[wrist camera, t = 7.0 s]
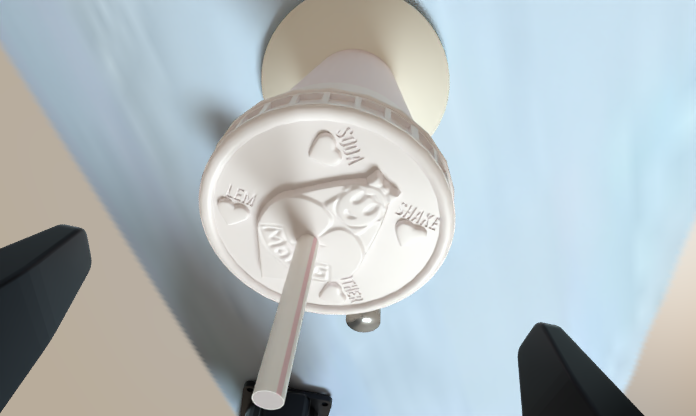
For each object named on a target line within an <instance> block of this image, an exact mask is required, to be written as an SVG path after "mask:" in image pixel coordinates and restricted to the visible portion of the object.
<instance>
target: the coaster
mask: <svg viewBox="0 0 696 416" xmlns="http://www.w3.org/2000/svg"><path fill="white" fill-rule="evenodd" d="M346 49H360V50H365V51H368V52H370V53H373V54H374V55H376V56H378V57H379V58H380V59H382V60H383V61H384V62H385V63H386V64H387V66H388V67H389V68H390V70H391V71H392V73H393V75H394V78H395V80H396V82H397V84H398V87H399V89H400V91H401V93H402V96H403V98H404V100H405V102H406V105H407V107H408V109H409V112H410V114H411V116H412V118H413V120H414V121H415V122H416V123H417V124H418V125H420V126H421V127H422V128H423V129H424V130H425V131H426V132H428V133H429V135H430V136H432V135H433V134H434V132H435V130H436V129H437V127H438V125H439V124H440V121H441V119H442V117H443V114H444V112H445V108H446V105H447V101H448V95H449V69H448V63H447V59H446V55H445V52H444V49H443V47H442V44H441V42H440V40H439V37H438V35H437V34H436V32H435V31H434V29H433V27H432V26H431V24H430V23H429V22H428V21H427V20H426V18H425V17H424V16H423V15H422V14H421V13H420V12H419V11H418V10H417V9H416V8H414V7H413V6H412V5H411V4H409V3H408V2H406V1H405V0H305V1H303V2H302V3H300V4H299V5H298V6H296V7H295V8H294V9H293V10H292V11H291V12H290V13H289V14H288V15H287V16H286V17H285V18H284V19H283V20H282V22H281V23H280V24H279V25H278V27H277V28H276V30H275V32H274V33H273V35H272V37H271V39H270V41H269V43H268V46H267V48H266V52H265V55H264V58H263V65H262V76H261V84H262V93H263V98H264V100H265V99H268V98H271V97H274V96H277V95H280V94H282V93H285V92H288V91H289V90H291V89H292V88H293V87H294V86H295V85H296V84H297V83H299V82H300V81H301V80H302V79H303V78H304V77H305V76H307V75H308V74H309V73H310V72H311V71H312V70H313V69H315V68H316V67H317V66H318V65H319V64H320V63H321V62H323V61H324V60H325V59H326V58H327V57H329V56H330V55H332V54H334V53H336V52H338V51H342V50H346Z"/></svg>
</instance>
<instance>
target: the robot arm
mask: <svg viewBox="0 0 696 416" xmlns="http://www.w3.org/2000/svg"><path fill="white" fill-rule="evenodd" d="M90 267H91V254H90V249H89V244H88V239H87V234H86V232H85V230H84V229H82V228H79V227H73V226H69V225H57V226H55V227H52V228H50V229H47V230H45V231H42V232H40V233H38V234H35V235H32V236H30V237H28V238H25V239H23V240H20V241H18V242H15V243H13V244H10V245H8V246H6V247H3V248H1V249H0V413H1V411H2V410H3V408H4V407H5V405H6V404H7V403H8V401H9V400H10V398H11V397H12V395H13V394H14V392H15V391H16V390H17V388H18V387H19V385H20V384H21V383H22V381H23V380H24V378H25V377H26V375H27V374H28V373H29V371H30V370H31V368H32V367H33V366H34V364H35V363H36V361H37V360H38V358H39V357H40V356H41V354H42V353H43V351H44V350H45V348H46V347H47V345H48V344H49V342H50V340H51V339H52V337H53V336H54V334H55V332H56V330H57V329H58V327H59V325H60V323H61V321H62V320H63V318H64V316H65V314H66V312H67V311H68V309H69V307H70V305H71V303H72V301H73V300H74V298H75V296H76V294H77V292H78V290H79V289H80V287H81V285H82V283H83V281H84V280H85V278H86V276H87V274H88V272H89V270H90ZM518 368H519V380H520V392H521V404H522V416H644V415H643V414H642V413H641V412H640V411H639V410H638V409H637V407H635V405H633V403H632V402H631V401H630V400H629V399H628V398H627V397H626V396H625V395H624V394H623V393H622V392H621V391H620V390H619V388H618V387H617V386H616V385H615V384H614V383H613V382H612V381H611V380H610V379H609V378H608V377H607V376H606V375H605V374H604V373H603V372H602V371H601V369H600V368H599V367H598V366H597V365H596V364H595V363H594V362H593V361H592V360H591V359H590V358H589V357H588V356H587V355H586V354H585V353H584V352H583V350H582V349H581V348H580V347H579V346H578V345H577V344H576V343H575V342H574V341H573V340H572V339H571V338H570V337H569V336H568V335H567V334H566V333H565V331H564V330H563V329H561V328H560V327H559V326H556V325H552V324H547V323H542V322H540V323H537V324H535V325H534V327H533V328H532V330H531V331H530V333H529V334H528V335H527V337H526V338H525V340H524V341H523V343H522V344H521V346H520V348H519V351H518ZM255 384H256V382H254V381H247V382H246V383H245V385H244V389H243V398H242V407H241V416H328V415H329V412H330V409H331V405H332V398H331V397H329V396H326V395H321V394H316V393H311V392H306V391H300V390H295V389H290V388H287V393H286V398H285V402H284V405H283V406H282V407H281V408H279V409H275V410H269V409H264V408H261V407H259V406H257V405H256V404H255V403H254V402H253V401H252V394H253V391H254V387H255Z"/></svg>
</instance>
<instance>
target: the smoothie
mask: <svg viewBox="0 0 696 416" xmlns="http://www.w3.org/2000/svg"><path fill="white" fill-rule="evenodd" d="M199 210H200V217H201V221H202V225H203V228H204V231H205V234H206V236H207V238H208V240H209V243H210V245H211V246H212V248H213V250H214V251H215V253H216V254H217V256H218V257H219V258H220V260H221V261H222V262H223V264H224V265H225V266H226V267H227V268H228V269H229V270H230V271H231V272H232V273H233V274H234V275H235V276H236V277H237V278H238V279H239V280H241V281H242V282H243V283H244V284H245V285H247V286H248V287H250V288H251V289H253V290H254V291H256V292H258V293H259V294H261V295H263V296H264V297H267V298H269V299H271V300H273V301H275V302H277V303H279V305H278V308H277V312H276V315H275V319H274V322H273V325H272V329H271V332H270V336H269V339H268V343H267V346H266V349H265V353H264V356H263V360H262V363H261V367H260V370H259V374H258V377H257V380H256V384H255V387H254V391H253V394H252V401H253V402H254V403H255V404H256V405H257V406H259V407H261V408H264V409H269V410H275V409H279V408H281V407H282V406H283V405H284V402H285V398H286V393H287V388H288V384H289V379H290V375H291V370H292V366H293V361H294V357H295V352H296V348H297V343H298V339H299V334H300V330H301V325H302V320H303V316H304V311H306V312H313V313H319V314H333V315H348V314H357V313H365V312H369V311H373V310H377V309H380V308H384V307H387V306H389V305H392V304H394V303H397V302H399V301H401V300H403V299H405V298H406V297H408V296H410V295H411V294H413V293H414V292H416V291H417V290H418V289H420V288H421V287H422V286H423V285H424V284H426V283H427V282H428V281H429V280H430V279H431V278H432V277H433V275H434V274H435V273H436V272H437V271H438V269H439V268H440V266H441V265H442V263H443V262H444V260H445V258H446V256H447V254H448V252H449V249H450V247H451V244H452V240H453V236H454V230H455V206H454V187H453V183H452V179H451V176H450V172H449V169H448V165H447V161H446V160H445V158H444V156H443V155H442V153H441V152H440V150H439V149H438V147H437V146H436V144H435V142H434V141H433V139H432V138H431V136H430V135H429V133H428V132H426V131H425V130H424V129H423V128H422V127H421V126H420V125H418V124H417V123H416V122H415V121H414V120H413V118H412V116H411V114H410V112H409V109H408V107H407V105H406V102H405V100H404V98H403V96H402V93H401V91H400V89H399V87H398V84H397V82H396V80H395V78H394V75H393V73H392V71H391V70H390V68H389V67H388V66H387V64H386V63H385V62H384V61H383V60H382V59H380V58H379V57H378V56H376V55H374V54H373V53H370V52H368V51H365V50H360V49H346V50H342V51H338V52H336V53H334V54H332V55H330V56H329V57H327V58H326V59H325V60H324V61H323V62H321V63H320V64H319V65H318V66H317V67H316V68H315V69H313V70H312V71H311V72H310V73H309V74H308V75H307V76H305V77H304V78H303V79H302V80H301V81H300V82H299V83H297V84H296V85H295V86H294V87H293V88H292V89H291V90H289V91H288V92H285V93H282V94H280V95H277V96H274V97H271V98H268V99H265V100H262V101H260V102H259V103H257V104H256V105H255V106H253V107H252V108H251V109H249V110H248V111H246V112H245V113H244V114H242V115H241V116H240V117H238V118H237V119H236V120H234V121H233V123H232V124H231V126H230V127H229V128H228V130H227V131H226V133H225V134H224V135H223V137H222V138H221V139H220V141H219V142H218V144H217V145H216V149H215V151H214V152H213V154H212V155H211V157H210V159H209V161H208V163H207V165H206V167H205V170H204V172H203V175H202V179H201V183H200V190H199Z"/></svg>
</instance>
